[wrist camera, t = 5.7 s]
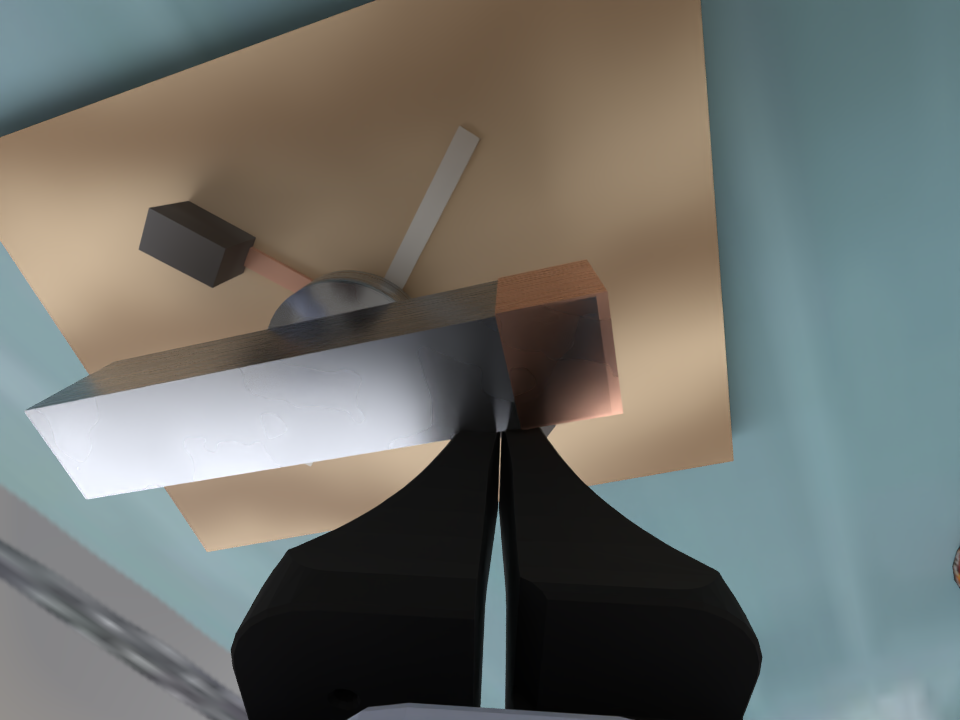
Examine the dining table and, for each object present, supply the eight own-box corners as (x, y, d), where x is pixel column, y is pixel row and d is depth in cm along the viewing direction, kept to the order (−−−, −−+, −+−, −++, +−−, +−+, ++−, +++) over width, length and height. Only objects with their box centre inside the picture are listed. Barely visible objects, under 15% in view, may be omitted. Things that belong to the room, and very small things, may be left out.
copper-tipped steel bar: (198, 437, 15) (104, 525, 11) (131, 317, 13) (0, 378, 10) (596, 366, 13) (627, 445, 10) (575, 217, 11) (602, 248, 8)
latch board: (-19, 156, 14) (-126, 159, 12) (677, -94, 11) (722, -159, 8) (221, 533, 20) (181, 586, 18) (721, 443, 17) (756, 492, 14)
